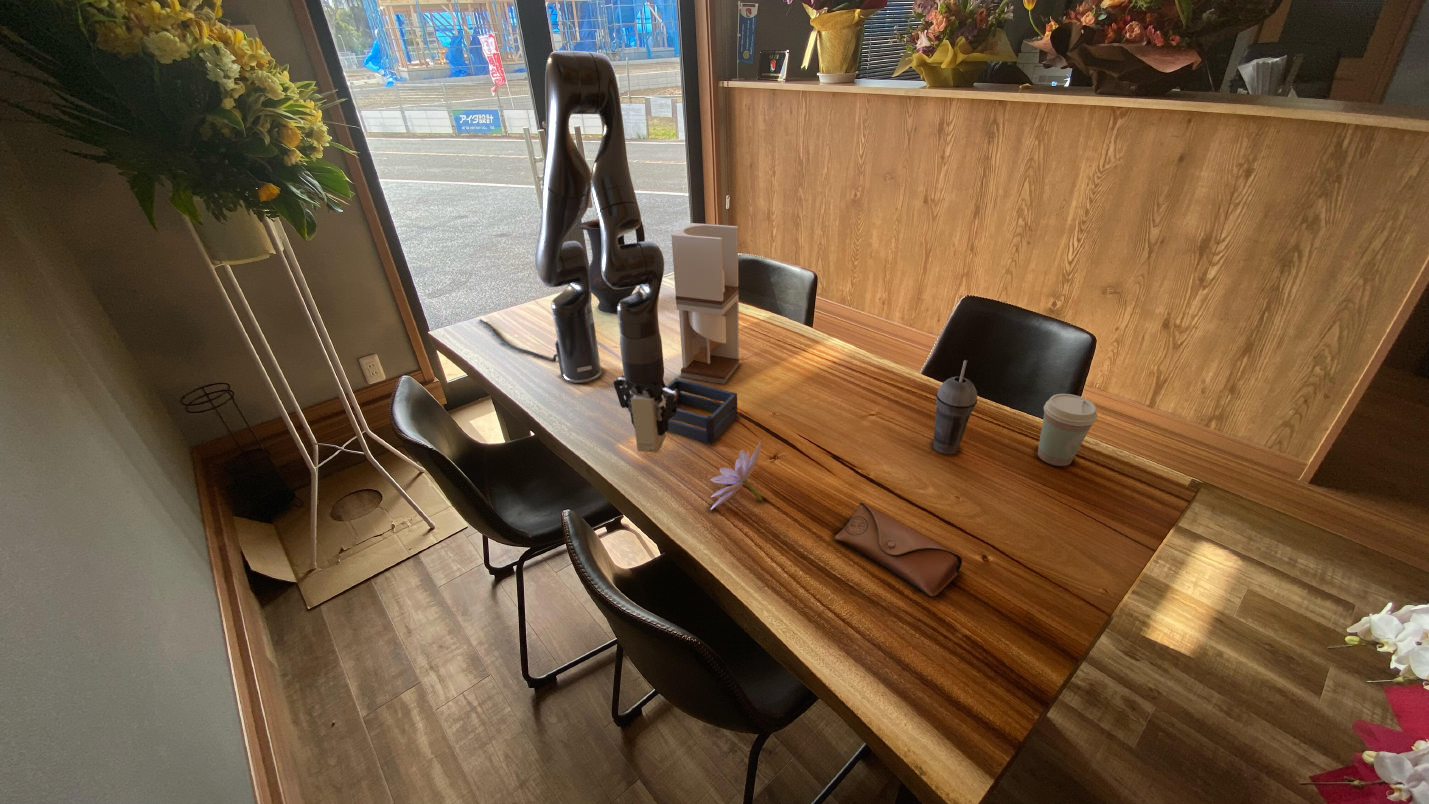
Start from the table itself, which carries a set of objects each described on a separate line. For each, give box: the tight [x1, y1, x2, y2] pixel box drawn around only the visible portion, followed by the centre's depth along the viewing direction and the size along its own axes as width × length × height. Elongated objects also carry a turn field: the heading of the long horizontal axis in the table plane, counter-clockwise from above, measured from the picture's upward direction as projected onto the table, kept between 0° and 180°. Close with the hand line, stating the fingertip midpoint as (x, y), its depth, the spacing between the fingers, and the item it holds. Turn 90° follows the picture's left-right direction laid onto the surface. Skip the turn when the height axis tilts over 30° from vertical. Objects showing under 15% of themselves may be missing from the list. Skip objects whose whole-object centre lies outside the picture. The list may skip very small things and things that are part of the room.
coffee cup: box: [1037, 393, 1098, 467], centre depth 107 cm, size 8×9×12 cm
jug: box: [577, 218, 646, 314], centre depth 174 cm, size 21×18×30 cm
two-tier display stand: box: [670, 222, 740, 385], centre depth 135 cm, size 11×11×35 cm
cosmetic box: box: [631, 394, 667, 454], centre depth 112 cm, size 6×4×12 cm
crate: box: [663, 377, 738, 445], centre depth 123 cm, size 16×12×6 cm
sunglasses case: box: [834, 502, 963, 598], centre depth 89 cm, size 18×7×7 cm
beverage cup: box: [932, 359, 978, 455], centre depth 108 cm, size 7×7×20 cm
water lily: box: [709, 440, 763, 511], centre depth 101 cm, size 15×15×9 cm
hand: (650, 429), depth 113 cm, fingers closed on cosmetic box, 5 cm apart
